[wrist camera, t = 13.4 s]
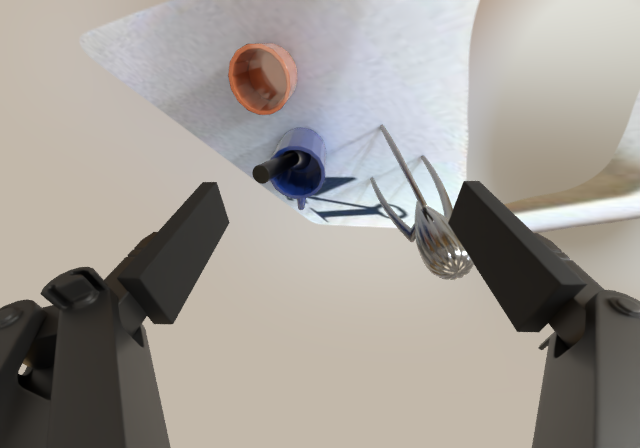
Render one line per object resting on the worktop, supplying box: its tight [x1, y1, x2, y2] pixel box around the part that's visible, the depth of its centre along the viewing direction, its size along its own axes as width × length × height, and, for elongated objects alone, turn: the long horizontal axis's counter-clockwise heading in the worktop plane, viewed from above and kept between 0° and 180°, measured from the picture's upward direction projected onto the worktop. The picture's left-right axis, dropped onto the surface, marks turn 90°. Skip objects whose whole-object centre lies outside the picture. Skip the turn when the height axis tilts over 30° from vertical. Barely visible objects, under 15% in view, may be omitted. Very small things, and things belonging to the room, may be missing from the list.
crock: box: [228, 43, 297, 115], centre depth 36 cm, size 8×8×9 cm
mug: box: [270, 128, 326, 210], centre depth 44 cm, size 13×9×10 cm
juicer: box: [370, 125, 474, 280], centre depth 35 cm, size 10×11×30 cm
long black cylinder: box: [253, 150, 311, 183], centre depth 39 cm, size 5×5×17 cm
